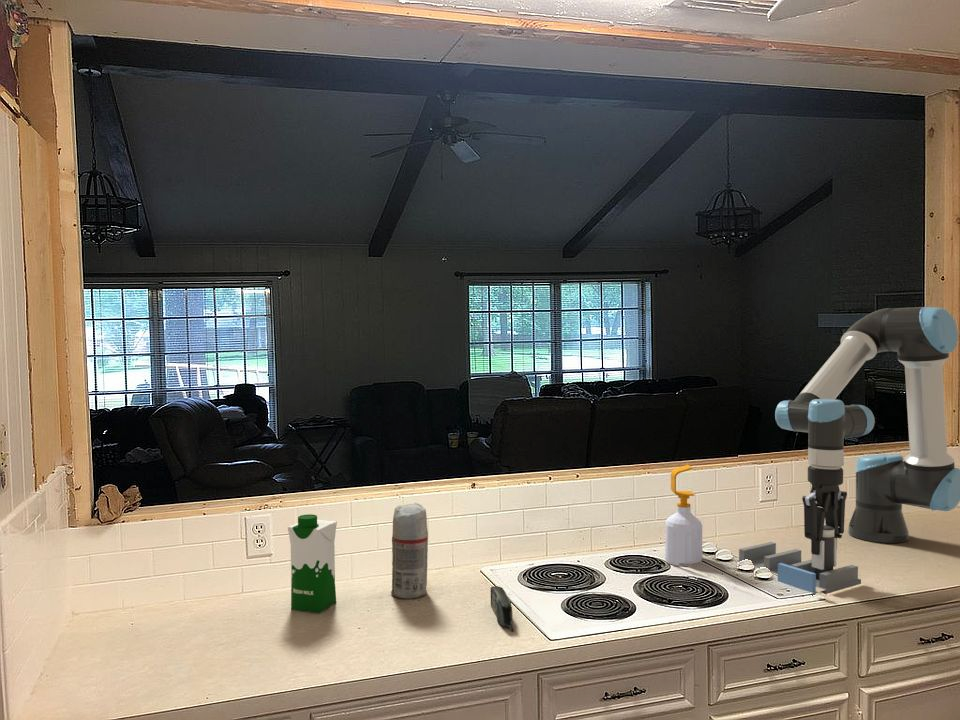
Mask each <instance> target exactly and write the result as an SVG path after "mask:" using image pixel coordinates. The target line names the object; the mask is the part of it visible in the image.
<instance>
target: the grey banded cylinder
mask: <svg viewBox="0 0 960 720" xmlns="http://www.w3.org/2000/svg"><path fill="white" fill-rule="evenodd" d="M822 541H824V569H823V570H821V569H818V568H814V573H816V579H817V580H819V574H820V573H823V572H827V571H831V570H834V566H833V560H834V528H833V527H831V526H826V524H824V528H823V535H822Z"/></svg>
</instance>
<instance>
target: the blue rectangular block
mask: <svg viewBox="0 0 960 720" xmlns="http://www.w3.org/2000/svg"><path fill="white" fill-rule="evenodd" d="M777 582H780V583H782V584H785V585H788V586H792V587H794V588H796V589H800V590H803V591H806V592H809V593H811V594H809V595H812V596H813V595H816V592H817V589H816V588H817V587H816V573H812V572H809V571H806V570H803V569H799V568H796V567H793V566H790V565H786V564H783V563H779V564H778V574H777ZM813 597H814V596H813Z"/></svg>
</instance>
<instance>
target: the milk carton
mask: <svg viewBox="0 0 960 720" xmlns="http://www.w3.org/2000/svg"><path fill="white" fill-rule="evenodd" d="M337 523H338V521H336V520H325V519H318V515H316V514H311V513H310V514H309V513H308V514H302V515H301V514H300V515H299V516H298V517H297V522H295V523H294V524H291V525H288V526H287V530H288V531H287V532H288V535H289V536H288V537H289V542H290V543H289V544H290V578H291V579H290V583H291V584H290V587H291V588H290V592H291V593H290V595H291V597H290V610H292V611H298V612H307V613H312V614H313V613H314V614H321V613H322V612H324V611H326V610H327V609H328V608H330V607H331V606H333V605H334V604H336V603H337V593H336V566H335V565H336V563H335V558H336V557H335V553H336V552H335V551H336V550H335V549H336V548H335V540H336V539H335V538H336V532H337V531H336V530H337Z"/></svg>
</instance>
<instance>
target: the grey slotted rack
mask: <svg viewBox="0 0 960 720" xmlns="http://www.w3.org/2000/svg"><path fill="white" fill-rule="evenodd" d="M776 549H777V543H776V542H773V541H769V542H765V543H764V542H763V543H760V544H755V545H751V546H747V547H742V548H739V549H738V560H737V559H736V562H738V563H741V562H740V561H742V560H745V559H748V560H751V561H752V563H753V565H754V568H757V569H760V567H766V568H768V569H769V570H770V573H773V574H776V575H778V564H779V563H783V564H786V565H790V566H793V567H796V568H799V569H803V570H806V571H809V572H812V573H814V567H812V559H808V560H804V561H802V550H801V549H797V548H795V549H790V550H785V551H781V552H777V550H776ZM776 552H777V553H776ZM858 572H859V566H858V565H854V564H849V565H845V566H843V567H839V568H835V569H834V568H833V570H831V571H827V572H823V573H820V574H819V580H817V579H816V588H818V589H822V590H820V591H819V593H822V594H824V595H827V594H831V593H835V592H837V591H841V590H844V589H847V588H851V587H855V586H858V585H861V584H862V579H860V578H859V573H858Z"/></svg>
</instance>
